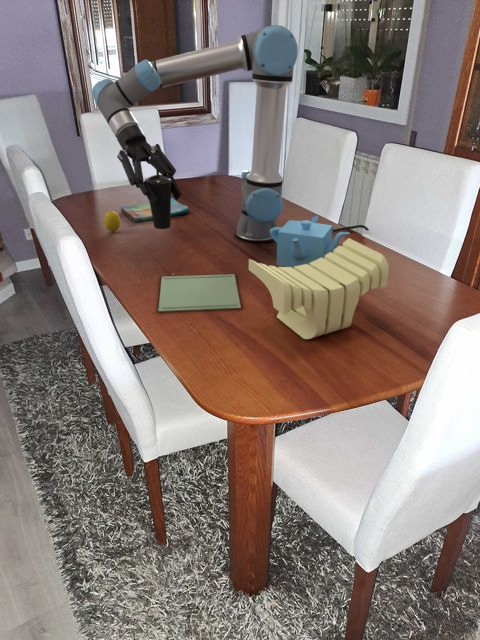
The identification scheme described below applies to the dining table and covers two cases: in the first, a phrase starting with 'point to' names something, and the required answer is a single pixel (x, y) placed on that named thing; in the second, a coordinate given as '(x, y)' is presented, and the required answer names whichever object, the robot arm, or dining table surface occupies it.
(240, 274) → the dining table surface
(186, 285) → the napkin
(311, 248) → the teakettle
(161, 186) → the drinking cup
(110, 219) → the lemon
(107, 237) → the dining table surface
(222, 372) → the dining table surface
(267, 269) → the slatted curved stool
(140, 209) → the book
